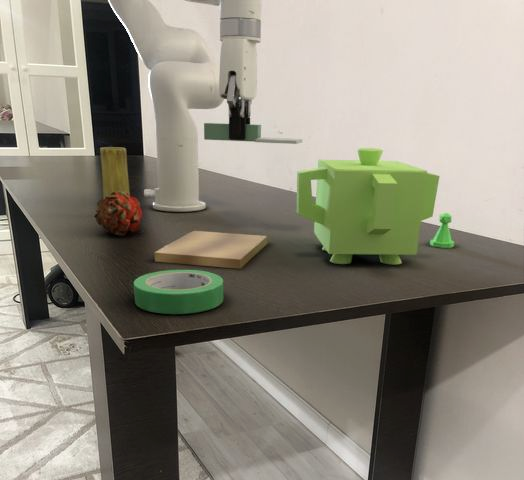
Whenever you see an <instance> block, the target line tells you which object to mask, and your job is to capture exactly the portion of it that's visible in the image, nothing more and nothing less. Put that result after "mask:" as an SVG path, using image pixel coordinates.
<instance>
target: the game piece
mask: <svg viewBox="0 0 524 480" xmlns="http://www.w3.org/2000/svg"><path fill="white" fill-rule="evenodd" d="M452 218H453V217H452V214H449V213H448V212H444V213H442V214H439V217H438V219H439V220H438V221H439V223H441V224H440V225H439V228H438V230H437V231H436V233H435V235H434V237H433V238H432V239H430V240H429V245H430V246H431V247H435V248H440V249H451V248H453V247H455V241H453V240H452V236H451V232H450V227H449V224H450V223H452Z"/></svg>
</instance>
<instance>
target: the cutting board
mask: <svg viewBox="0 0 524 480" xmlns="http://www.w3.org/2000/svg"><path fill="white" fill-rule="evenodd" d="M267 245H268V236H267V235H259V234H244V233H232V232H231V233H229V232H218V231H217V232H216V231H205V230H192V231H191V232H189V233H187V234H185V235H184V236H182V237H180V238H178V239H176V240H175V241H173V242H171V243H169V244H167V245H165V246H163V247H162V248H159V249H158V250H156V251H155V252H154V263H155V262H157V263H166V264H167V263H169V264H179V265H180V264H181V265H191V266H202V267H212V268H213V267H215V268H225V269H234V270H235V269H237V270H240V269H242V268H243V267H244V266H245V265H246V264H247V263H248V262H250V260H252V259H253V258H254V257H255V256H256V255H257V254H259V252H261V250H263V249H264V247H266V246H267Z"/></svg>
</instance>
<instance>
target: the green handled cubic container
mask: <svg viewBox="0 0 524 480" xmlns="http://www.w3.org/2000/svg"><path fill="white" fill-rule="evenodd" d="M383 151H384V150H383V149H381V148H375V147H363V148H358V149H357V155H358V159H359V160H356V159H355V160H354V159H319V160H318V161H317V167H316V168H311V169H303V170H298V171H297V172H296V175H297V176H296V214H297V215H299V216H300V217H303V218H306V219H307V220H309V221H312V222H314V223H313V233H314V235H315V236H316V238H317V240H318V241H319V242H320V243H321V245H322V247H321V250H322V251H326V252H327V253H328V255H332V256H331V257H330V259H329V262H331V263H333V264H338V265H347V264H351V263H352V260H353V256H354V255H379V260H380V261H379V262H381V263H382V264H386V265H401V264H402V259H401V258H400V256H399V255H402V256H403V255H404V256H417V254H418V247H419V241H420V240H419V239H420V233H421V225H422V221H425V220H427V219H430V218H433V215H434V210H435V205H436V198H437V194H438V187H439V182H440V175H438V174H435V173H429V172H428V170H426V169H423V168H420V167H417V166H414V165H410V164H407V163H404V162H400V161H398V160H380V159H381V157H382V155H383ZM312 181H316V189H315V203H314V202H313V189H312Z"/></svg>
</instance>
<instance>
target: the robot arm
mask: <svg viewBox="0 0 524 480" xmlns="http://www.w3.org/2000/svg"><path fill="white" fill-rule="evenodd" d="M184 1H185V2H189V3H196V4H204V5H211V6H216V7H219V41H220V42H221V44H220V45H221V46H220V55H219V56H220V57H219V63H218V61H217V60H216V58H215V57H216V56H214V54H213V52H212V50H211V48H210V46H209V45H208V42H207V40H206V39H205V37H203V35H201V34H200V32H198V31H196V30H194V29H190V28H184V27H183V28H182V27H175V26H170V25H169V24H166V22H165V21H164V19H163V17H162V15H161V13H160V11H159V10H158V8H157V7H156V6H155V4H153V3H152V2H151V1H150V0H107V2H108V3H109V5H110V7H111V8H112V10H113V12H114V14H115V15H116V16H117V18H118V19H119V21H120V22H121V23H122V25H123V26H124V28H125V29H126V32H127V33H128V35H129V37H130V40H131V42H132V43H133V45H134V48H135V50H136V52H137V54H138V56H139V58H140V59H141V61H142V63H143V64H144V66H145V67H146V68H147V69H148V70H150V71H149V74H148V89H149V93H150V98H151V102H152V109H153V116H154V124H155V125H154V126H155V143H156V164H157V165H156V166H157V184H158V187H156V188H154V189H150V188H145V189H144V190H143V196H144V198H145V199H154V202H152V209H154V210H157V211H161V212H171V213H189V212H197V211H202V210H205V209H206V207H207V206H206V205H207V204H206V202H204V201H202V200H200V192H199V191H200V186H199V185H200V183H199V182H200V181H199V137H198V136H199V135H198V133H199V132H198V128H197V125H196V122H195V120H194V118H193V117H192V115H191V113H190V111H189V110H212V109H216V108H219V106H221V105H222V104H223V102H224V101H225V100H226V103H227V107H228V124H229V139H230V140H245V136H246V124H251V114H252V113H251V111H252V110H251V109H252V108H251V107H252V104H253V100H255V98H256V97H257V88H258V87H257V86H258V58H257V56H258V53H257V44H260V43H261V41H262V39H261V38H262V2H263V1H262V0H184Z"/></svg>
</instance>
